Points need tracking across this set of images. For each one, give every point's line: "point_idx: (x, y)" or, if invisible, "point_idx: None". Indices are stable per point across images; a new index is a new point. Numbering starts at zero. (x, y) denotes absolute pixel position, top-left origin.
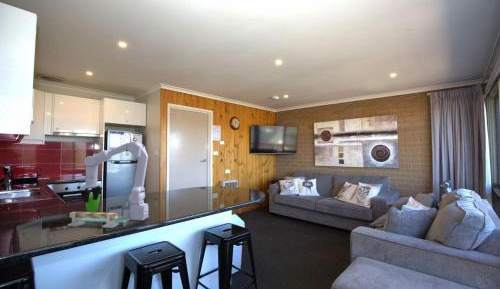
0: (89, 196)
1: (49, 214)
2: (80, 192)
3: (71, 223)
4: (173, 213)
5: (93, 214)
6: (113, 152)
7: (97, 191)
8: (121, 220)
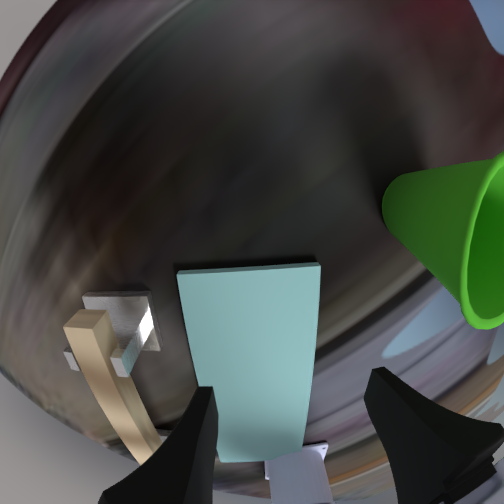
0: None
1: None
2: (118, 487)
3: (102, 303)
4: (362, 479)
5: (125, 440)
6: None
7: (400, 475)
8: (235, 453)
